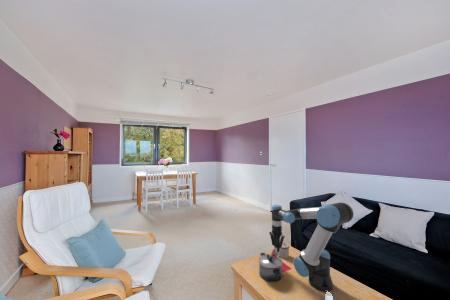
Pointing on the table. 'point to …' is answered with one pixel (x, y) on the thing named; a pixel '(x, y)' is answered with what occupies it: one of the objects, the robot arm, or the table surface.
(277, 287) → the table surface
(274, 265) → the lid
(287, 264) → the table surface
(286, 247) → the teacup with lid
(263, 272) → the cooker pot
